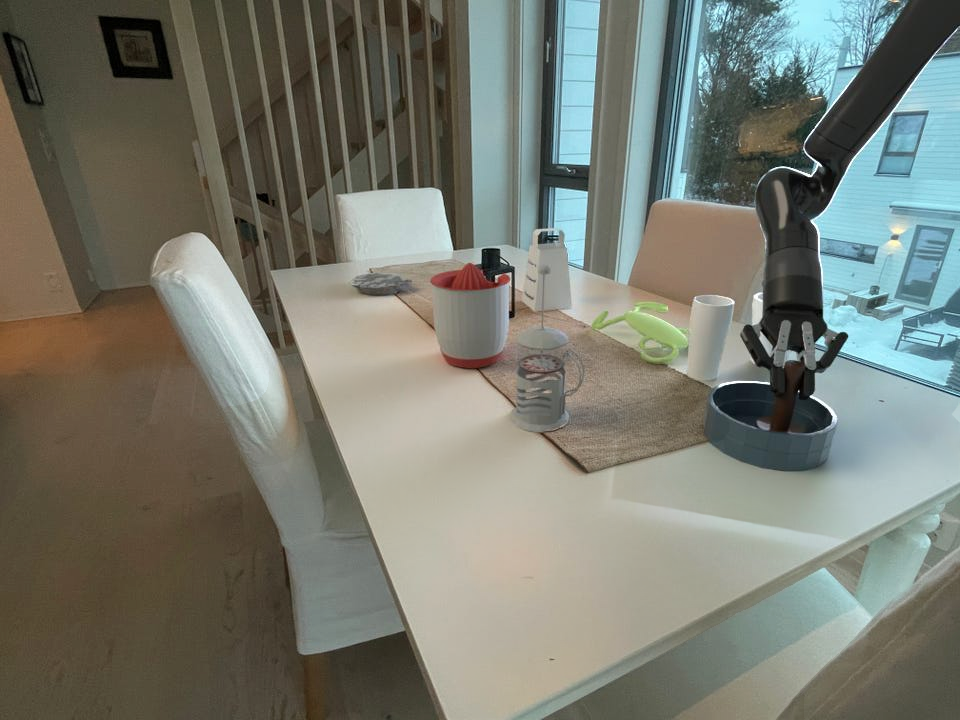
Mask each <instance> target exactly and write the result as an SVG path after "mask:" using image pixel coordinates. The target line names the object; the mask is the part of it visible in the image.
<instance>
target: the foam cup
mask: <svg viewBox="0 0 960 720" xmlns="http://www.w3.org/2000/svg"><path fill="white" fill-rule="evenodd" d="M751 310H752V314H751V326H753V325H756V324H759V322H760V321H761V319H762V311H763V292H758V293H756V294H753V299H752V304H751ZM760 334H761V336H760V337H759V339H760V341H761V343H762V344H763V346H764V348H765V350H766V352H767V353H768V355H769V356H770V355H771V349H772V345H771V344H770V342H769V341H768V340H767V339H766V337H765V336H764V335H763V334H762V332H761V331H760ZM792 352H793V351H791V350H787V351H786V352H785V358H784V364H785V361H787V360H790V357H791V355H792ZM749 356H750V359H749V361H750V362H751V363H752V364H754V365H756V364H755V362H754V360H753V359H752V357H751V355H750V354H749ZM784 364H783V365H782V368H784Z"/></svg>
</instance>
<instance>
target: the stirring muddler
mask: <svg viewBox="0 0 960 720" xmlns="http://www.w3.org/2000/svg"><path fill="white" fill-rule="evenodd" d="M783 368H785V392H784V395H783V396H782V397H781V398H780V397H777V398H776V402H775V406H774V410H773V415H772V416H765V417H761V418H759V419H758V420H757V421H756V425H755V427H756V428H760V429H764V430H768V431H773V432H781V433H788V434H803V429H802V428H801V426H799V425H798V424H797V423H795V422H793V421H791V419H792V415H793V411H794V407H795V404H796V400H797V396H798V392H799V388H800V384H801V380H802V376H803V372H804V369H805V364H804V363H802V362H800V361H798V360H795V359H788V360H787V361H785V364H784V367H783Z"/></svg>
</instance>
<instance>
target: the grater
mask: <svg viewBox="0 0 960 720" xmlns="http://www.w3.org/2000/svg"><path fill="white" fill-rule="evenodd" d="M553 231H556V232H557V231H558V243H557V242H550V243H538V242H539V237H538V236H539V235H540V234H541V232H553ZM565 235H566V234H565V232H564V231H563V230H562V229H560V228H557V227H547V228H536V229H535V230H534V231H533V232H532V244H529V250H528V256H527V262H526V268H525V276H524V282H523V289H522V296H521V302H522V303H524V304H525V305H526V306H527V307H528V308H530V309H531V310H532V311H533V312H534V313H538V312H542V295H543V274H538V267H540V266H541V265H547V266H548V267H549V268H550V270H551V272H550V274H545V278H544V309H543V312H547V311H556V310H565V309H572V308H573V303H572V292H571V279H570V269H569V268H570V267H569V256H568V247H566V246H565Z"/></svg>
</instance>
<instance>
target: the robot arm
mask: <svg viewBox="0 0 960 720" xmlns="http://www.w3.org/2000/svg"><path fill="white" fill-rule="evenodd" d="M959 28H960V0H907V1H906V3H905V4H904V6H903V8H902V9H901V10H900V12H899V14H898V15H897V17H896V19H895V20H894V21H893V23H892V24H891V26H890V27H889V29H888V30H887V31H886V33H885V35H884V36H883V38H882V39H881V41H880V42H879V44H878V45H877V46H876V48H875V49H874V50H873V52H872V53H871V55H870V56H869V57H868V58H867V60H866V61H865V63H864V64H863V65H862V67H861V68H860V69H859V70H858V71H857V73H856V74H855V75H854V77H853V78H852V79H851V81H849V83H848V85H846V87H845V88H844V89H843V91H842V92H841V93H840V95H839V96H838V97H837V98H836V99H835V101H834V102H833V103H832V105H831V106H830V108H828V110H827V111H826V112H825V114H824V115H823V116H822V118H821V119H820V121H819V122H818V123H817V124H816V126H815V127H814V129H812V131H811V132H810V134H809V135H808V136H807V138H806V140H805V141H804V144H803V150H804V153H805V154H806V156H808V157H809V158H810V159H811V160H812V161H814V162H815V163H817V165H816V168H815V170H814V172H813V173H812V174H811V175H810V174H808V173H805V172H802V171H799V170H797V169H794V168H791V167H787V166H779V167H775V168H772V169H770V170H768V172H766V173H765V174H764V175H763V176H762V177H761V178H760V180H759V182H758V184H757V186H756V188H755V192H754V198H753V199H754V209H755V213H756V216H757V219H758V222H759V225H760V228H761V233H762V234H763V237H764V239H765V253H764V254H765V256H764V257H765V260H764V268H763V274H762V282H761V287H762V293H763V311H762V319H761V321H760V322H759V324H756V325H753V326H752V324H749V323H747V324H745V325H744V326H743V328H742V330H741V331H740V333H739V337H740V338H741V341H742V342H743V345H744V346H745V348H746V349H747V352H748V353H749V356H750V355H751V357H752V359H753V360H754V362H755V364H754V365H755V366H756V367H758V368H764V369H767V370H768V372H769V383H770V391H771V392H772V393H774V396H775V397H780V398H781V397H782V396H783V395H784V392H785V368H784V367H783V368H782V365H783V364H784V358H785V352H786V351H787V350H791V351H792V352H795V355H796V361H800V362H802V363H804V364H805V369H804V372H803V376H802V380H801V384H800V388H799V399H800V400H807V399H808V398H809V397H810V396H813V395H814V393H815V391H816V374H817V373H818V374H823V373H824V372H825V371H826V370H827V369H828V368H830V367H831V366H832V364H833V362H834V361H835V360H836V358H837V356H838V355H839V353H840V351H841V350H842V348H844V345H845V343H846V342H847V340H848V339H849V334H848V333H847V332H845V331H840V332H837V331H834V330H832V329H830V328H829V326H828V324H827V322H826V320H825V319H824V287H823V286H824V285H823V281H824V280H823V267H822V263H821V255H820V254H821V253H820V251H821V250H820V231H819V229H818V228H819V227H818V226H817V225H816V224H815V222H814V221H813V220H816V219H817V218H818V217H820V216H821V215H823V213H824V212H826V210H827V209H828V207H829V206H830V204H831V203H832V201H833V198H834V197H835V195H836V193H837V190H838V188H839V187H840V184H841V183H842V181H843V179H844V177H845V176H846V173H847V172H848V169H849V168H850V166H851V165H852V162H853V161H854V159H855V158H856V157H857V155H859V154H860V152H861V151H862V150H863V149H864V148H865V146H866V145H867V144H868V143H869V142H870V141H871V140H872V138H873V137H874V136H875V135H876V134H877V132H878V131H879V130H880V129H881V127H883V125H884V124H885V122H886V121H887V120H888V119H889V118H890V116H891V115H892V114H893V113H894V111H895V110H896V108H897V107H898V105H899V104H900V103H901V101H902V100H903V99H904V97H905V96H906V95H907V93H908V91H909V90H910V88H911V87H912V85H913V84H914V83H915V81H916V80H917V78H918V77H919V76H920V74H921V73H922V72H923V70H924V69H925V68H926V67H927V65H928V64H929V62H930V61H931V60H932V59H933V57H934V56H935V55H936V53H937V52H938V51H939V50H940V49H941V48H942V47H943V46H944V45H945V44H946V42H947V41H948V40H949V39H950V38H951V37H952V36H953V35H954V34H955V33H956V31H958V29H959ZM760 331H761V332H762V334H763V335H764V336H765V337H766V339H767V340H768V341H769V342H770V344H771V345H772V349H771V355H770V356H769V355H768V353H767V352H766V350H765V348H764V346H763V344H762V343H761V341H760V339H759V337H760V336H761V334H760ZM821 338H824V341H823V344H824V346H825V347H827V348H826V349H825V351H824V352H823V354H822V356H821V357H820V359H819V360H816V356H815V355H816V345H815V344H816V343H817V342H818V341H819V340H820V339H821Z"/></svg>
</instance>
